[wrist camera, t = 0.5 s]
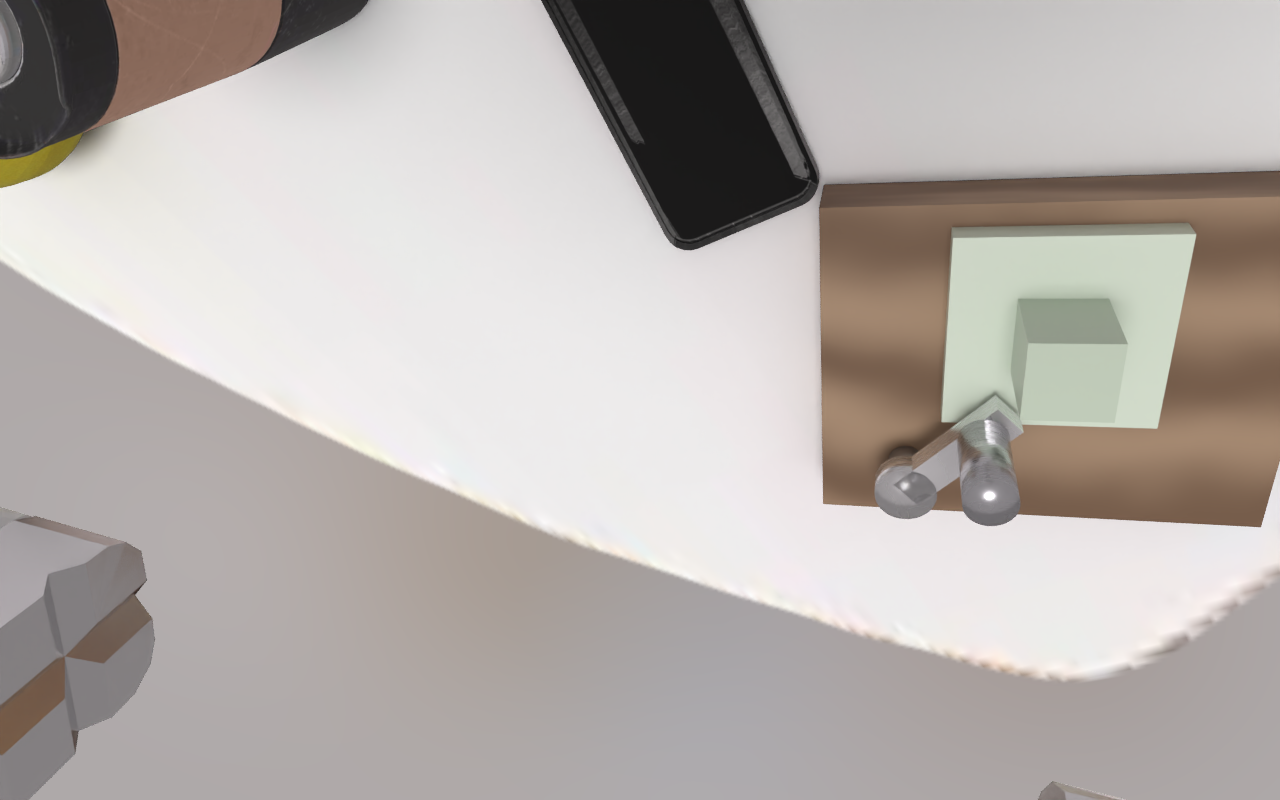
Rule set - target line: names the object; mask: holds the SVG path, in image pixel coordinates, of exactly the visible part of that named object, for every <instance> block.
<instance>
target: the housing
mask: <svg viewBox="0 0 1280 800" xmlns="http://www.w3.org/2000/svg"><path fill="white" fill-rule="evenodd" d="M819 223H820V298H821V373H822V448H823V504H833V505H852V506H871V507H879V506H878V504H877V502H876V500H875V476H876V472H877V470H878V468H879V467H880V466H881V464H883V463H884V462H885V461H887V460H888V459H890V458H893V457H897V456H913V455H914V454H916V453H917V452H918V451H920V450H921V449H923V448H924V447H925V446H927V445H928V444H929V443H931V442H932V441H934V440H935V439H936V438H938V437H939V436H940V435H942V434H943V433H945V432H946V431H947V430H949V429H950V428H951V427H953V426H954V425H955V424H957V423H954V422H941V394H942V377H943V361H944V345H945V328H946V312H947V296H948V280H949V263H950V247H951V231H952V227H996V226H1049V225H1103V224H1156V223H1189V224H1190V225H1191V227H1192V228H1193V230H1194V231H1195V233H1196V239H1195V244H1194V249H1193V254H1192V259H1191V264H1190V269H1189V274H1188V279H1187V284H1186V289H1185V294H1184V299H1183V304H1182V309H1181V314H1180V319H1179V324H1178V329H1177V334H1176V339H1175V344H1174V349H1173V354H1172V359H1171V364H1170V369H1169V374H1168V379H1167V384H1166V389H1165V394H1164V398H1163V403H1162V408H1161V413H1160V418H1159V423H1158V428H1157V429H1151V428H1118V427H1085V426H1052V425H1022V427H1023V432H1024V433H1022V434H1021V435H1019V436H1018V437H1016V438H1015V439H1013V440H1012V441H1010V443H1011V449H1012V455H1013V461H1014V467H1015V473H1016V479H1017V484H1018V490H1019V496H1020V503H1021V504H1020V510H1019V512H1018V514H1022V515H1041V516H1060V517H1079V518H1098V519H1117V520H1136V521H1155V522H1173V523H1192V524H1211V525H1230V526H1249V527H1261V525H1262V521H1263V518H1264V514H1265V511H1266V507H1267V504H1268V500H1269V496H1270V493H1271V489H1272V486H1273V482H1274V479H1275V475H1276V472H1277V468H1278V465H1279V461H1280V171H1264V172H1231V173H1199V174H1166V175H1133V176H1100V177H1067V178H1034V179H1001V180H968V181H936V182H903V183H870V184H837V185H824V188H823V192H822V197H821V202H820V207H819ZM931 510H947V511H963V508H962V498H961V486H960V477H958V478H957V479H955V480H954V481H952V482H951V483H949V484H948V485H947V486H945V487H944V488H942V489H941V490H939V491H938V492H937V500H936V503H935V505H934V506H933V508H932V509H931Z"/></svg>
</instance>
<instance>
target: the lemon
mask: <svg viewBox="0 0 1280 800" xmlns="http://www.w3.org/2000/svg"><path fill="white" fill-rule="evenodd" d="M82 134H83V133H81V134H79V135H76V136H73V137H71V138H68V139H66V140H63V141H60V142H58V143H55V144H53V145H50V146H47V147H45V148H43V149H41V150H40V151H38V152H36V153H34V154H32V155H29V156H25V157H21V158H15V159H0V188H3V187H7V186H11V185H15V184H18V183H21V182H24V181H27V180H30V179H33V178H35V177H38V176H40V175H42V174H44V173H46V172H49V171H51V170H52V169H53V168H55V167H56V166H58V165H59V164H60V163H61V162H62V161H63V160H64V159H65V158H66V157H67V156H68V155H69V154H70V153H71V152H72V151H73V150H74V148H75V147H76V145H77V144H78V142H79V140H80V138H81V136H82Z"/></svg>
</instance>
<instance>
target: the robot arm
mask: <svg viewBox="0 0 1280 800" xmlns="http://www.w3.org/2000/svg"><path fill="white" fill-rule="evenodd" d="M146 581H147V578H146V573H145V568H144V563H143V558H142V553H141V551H140V550H139V549H137V548H135V547H133V546H131V545H130V544H128V543H126V542H124V541H120V540H117V539H113V538H110V537H106V536H103V535H99V534H95V533H92V532H89V531H85V530H82V529H78V528H75V527H71V526H67V525H64V524H61V523H58V522H54V521H51V520H47V519H44V518H40V517H37V516H34V517H31V516H28V515H25V514H21V513H18V512H15V511H11V510H8V509H5V508H1V507H0V800H29V799H30V798H31V797H32V796H33V795H34V794H35V793H36V792H37V791H38V790H39V789H40V788H41V787H42V786H43V785H44V784H45V783H46V782H47V781H48V780H49V779H50V778H51V777H52V776H53V775H54V774H55V773H56V772H57V771H58V770H59V769H60V768H61V767H62V766H63V765H64V764H65V763H66V762H67V761H68V760H69V759H70V758H71V757H72V756H73V755H74V754H75V752H76V745H77V739H78V732H79V730H82V729H84V728H87V727H89V726H91V725H94V724H96V723H99V722H101V721H104V720H106V719H109V718H111V717H113V716H114V715H115V714H116V712H118V710H119V709H120V708H121V707H122V706H123V705H124V704H125V703H126V702H127V701H128V700H129V699H130V698H131V697H132V696H133V695H134V694H135V692H136V690H137V689H138V687H139V685H140V683H141V681H142V679H143V677H144V675H145V673H146V672H147V670H148V668H149V666H150V664H151V659H152V653H153V647H154V641H155V637H154V629H153V621H152V618H151V616H150V615H149V613H148V612H147V611H146V609H145V608H144V607H143V605H142V604H141V603H140V601H139V600H138V599H137V597H136V596H135V594H136V593H137V592H138V591H139V590H140V588H141V587H142V586H143V585H144V583H145V582H146ZM1038 800H1125V799H1121V798H1117V797H1113V796H1109V795H1105V794H1101V793H1097V792H1093V791H1089V790H1085V789H1081V788H1077V787H1073V786H1069V785H1065V784H1061V783H1057V782H1053V781H1052V782H1051V783H1050V784H1049V785H1048V786H1047V787H1046V788H1045V789H1044V790H1043V791H1042V792H1041V794H1040V796H1039V798H1038Z"/></svg>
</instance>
